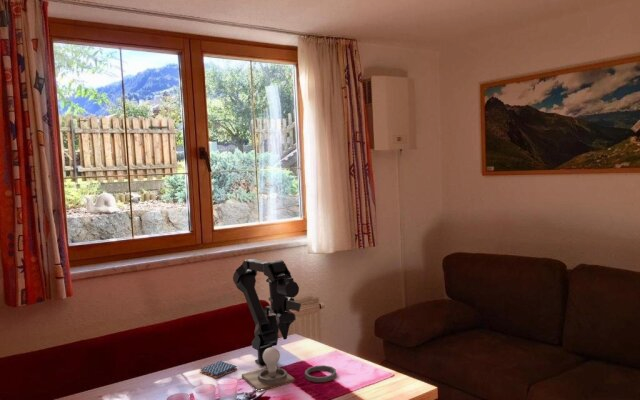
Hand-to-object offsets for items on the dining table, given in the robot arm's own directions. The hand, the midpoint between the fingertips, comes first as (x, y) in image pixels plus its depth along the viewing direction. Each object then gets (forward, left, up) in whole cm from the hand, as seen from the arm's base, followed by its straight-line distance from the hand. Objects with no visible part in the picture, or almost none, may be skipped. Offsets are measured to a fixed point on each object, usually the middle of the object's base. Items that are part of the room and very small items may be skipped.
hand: (280, 336), depth 184 cm
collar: (+12, +9, -13) cm, 20 cm away
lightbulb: (+5, -7, -12) cm, 15 cm away
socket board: (+3, -8, -13) cm, 16 cm away
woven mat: (-15, -20, -14) cm, 28 cm away
